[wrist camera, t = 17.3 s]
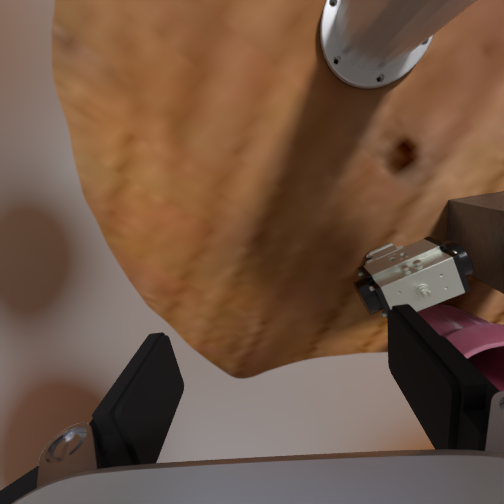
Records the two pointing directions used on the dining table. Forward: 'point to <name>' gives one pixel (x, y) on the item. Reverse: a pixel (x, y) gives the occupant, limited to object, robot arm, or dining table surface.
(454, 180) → the dining table surface
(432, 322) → the plant pot
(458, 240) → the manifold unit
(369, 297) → the pneumatic valve
